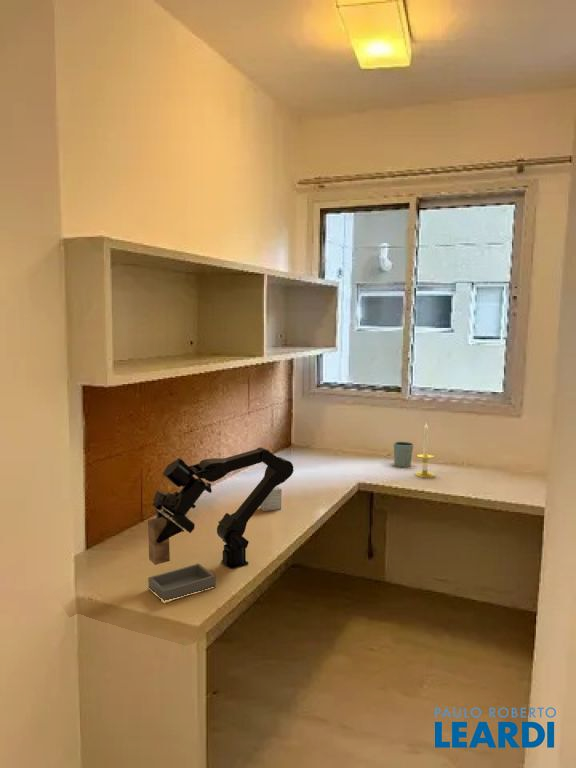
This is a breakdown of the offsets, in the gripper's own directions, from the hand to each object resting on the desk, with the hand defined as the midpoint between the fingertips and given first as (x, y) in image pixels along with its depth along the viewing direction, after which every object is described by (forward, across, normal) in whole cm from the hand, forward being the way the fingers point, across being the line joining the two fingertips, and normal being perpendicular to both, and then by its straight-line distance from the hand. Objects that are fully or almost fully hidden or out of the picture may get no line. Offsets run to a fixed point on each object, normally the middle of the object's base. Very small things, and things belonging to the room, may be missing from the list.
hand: (154, 539), depth 164 cm
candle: (-100, -35, +121) cm, 161 cm away
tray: (+6, +7, +13) cm, 16 cm away
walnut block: (+4, 0, +6) cm, 7 cm away
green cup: (-103, -54, +124) cm, 170 cm away
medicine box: (-35, -36, +55) cm, 75 cm away
